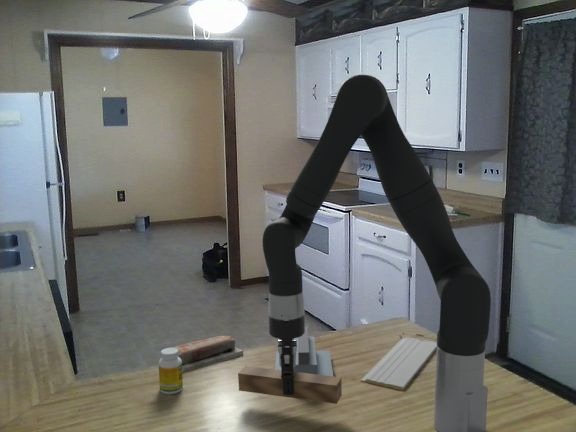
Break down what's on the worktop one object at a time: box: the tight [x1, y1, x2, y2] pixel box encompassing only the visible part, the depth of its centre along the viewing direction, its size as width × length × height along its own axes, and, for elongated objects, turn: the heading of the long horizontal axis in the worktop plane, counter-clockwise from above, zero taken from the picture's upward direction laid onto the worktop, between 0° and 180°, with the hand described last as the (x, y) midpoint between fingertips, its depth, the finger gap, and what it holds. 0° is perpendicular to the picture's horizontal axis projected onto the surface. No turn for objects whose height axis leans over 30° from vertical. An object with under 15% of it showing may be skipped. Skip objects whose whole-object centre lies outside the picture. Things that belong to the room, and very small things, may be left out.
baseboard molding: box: [360, 332, 437, 391], centre depth 152 cm, size 31×3×12 cm
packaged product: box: [172, 335, 244, 373], centre depth 156 cm, size 18×5×10 cm
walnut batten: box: [237, 365, 343, 405], centre depth 126 cm, size 22×4×4 cm, turn 70°
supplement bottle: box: [158, 347, 184, 395], centre depth 137 cm, size 5×5×10 cm
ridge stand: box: [274, 325, 334, 376], centre depth 145 cm, size 14×18×9 cm
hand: (288, 388), depth 126 cm, fingers closed on walnut batten, 5 cm apart
